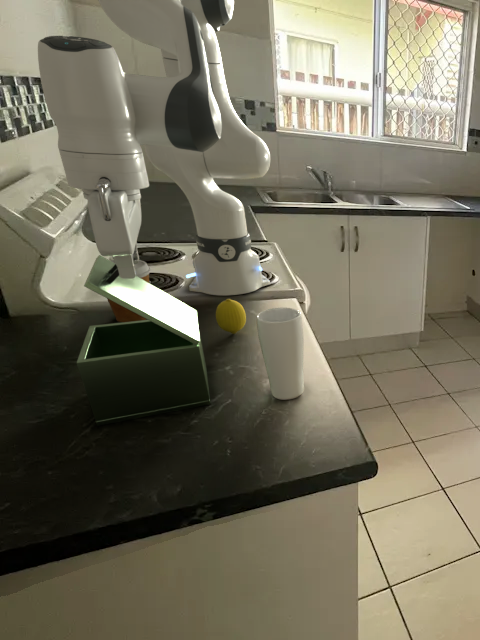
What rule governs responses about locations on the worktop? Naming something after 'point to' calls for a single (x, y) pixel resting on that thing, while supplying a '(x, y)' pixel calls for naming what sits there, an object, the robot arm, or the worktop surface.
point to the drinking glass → (282, 350)
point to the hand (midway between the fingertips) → (130, 269)
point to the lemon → (230, 316)
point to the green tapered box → (140, 371)
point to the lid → (143, 299)
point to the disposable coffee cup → (122, 312)
